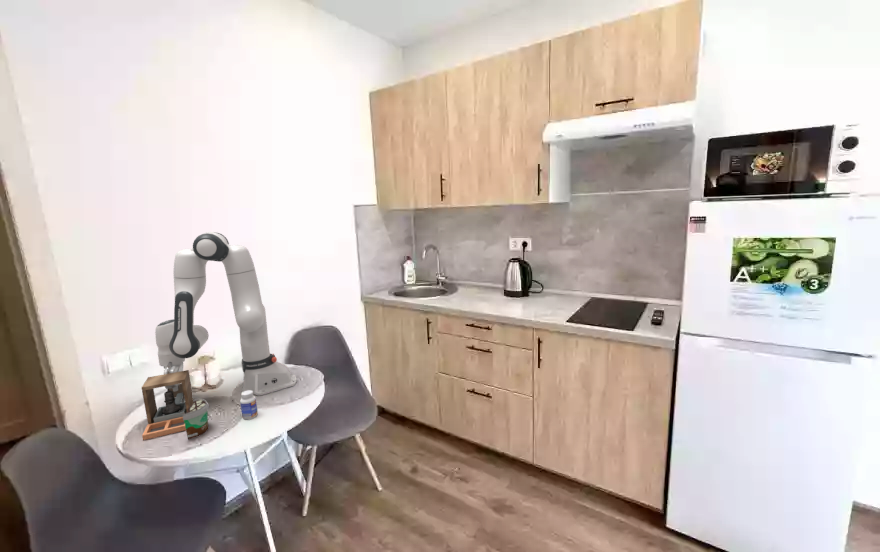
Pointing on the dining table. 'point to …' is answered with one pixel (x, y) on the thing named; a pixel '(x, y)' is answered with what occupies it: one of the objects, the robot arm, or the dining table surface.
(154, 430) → the orange flat frame
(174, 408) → the dark grey upright piece
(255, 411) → the pill bottle
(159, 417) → the grey piece
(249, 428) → the dining table surface
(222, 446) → the dining table surface
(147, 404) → the tunnel
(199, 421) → the food container
